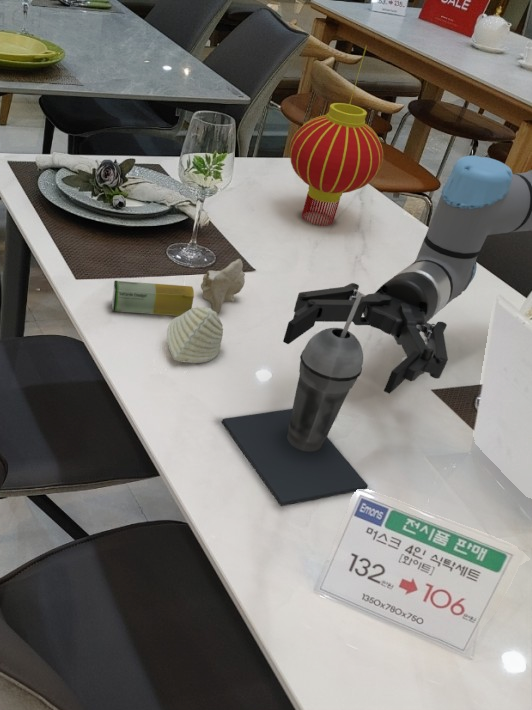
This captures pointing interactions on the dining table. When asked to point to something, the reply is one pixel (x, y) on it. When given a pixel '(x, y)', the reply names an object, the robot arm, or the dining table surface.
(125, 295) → the medication box
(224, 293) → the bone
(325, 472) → the mat
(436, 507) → the dining table surface
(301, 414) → the beverage cup
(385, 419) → the dining table surface
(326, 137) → the lantern
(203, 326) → the seashell
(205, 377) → the dining table surface
